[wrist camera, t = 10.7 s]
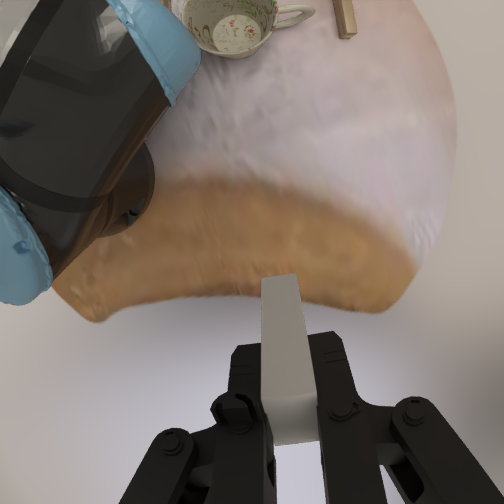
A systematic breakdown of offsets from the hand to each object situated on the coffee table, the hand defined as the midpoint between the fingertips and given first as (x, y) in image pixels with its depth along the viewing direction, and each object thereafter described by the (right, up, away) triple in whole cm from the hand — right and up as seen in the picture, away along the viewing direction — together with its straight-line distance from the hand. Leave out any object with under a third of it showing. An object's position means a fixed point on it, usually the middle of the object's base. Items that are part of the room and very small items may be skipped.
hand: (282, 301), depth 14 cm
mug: (-1, +27, +16) cm, 32 cm away
